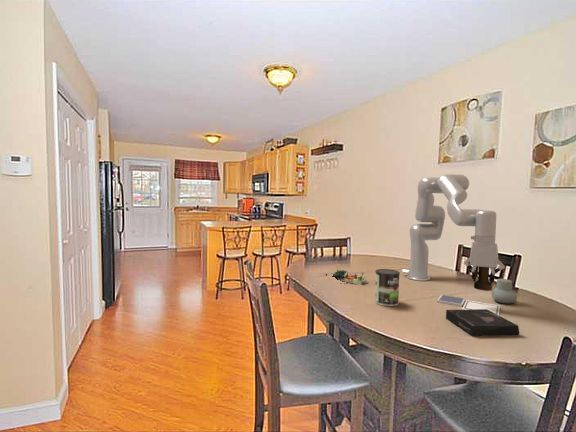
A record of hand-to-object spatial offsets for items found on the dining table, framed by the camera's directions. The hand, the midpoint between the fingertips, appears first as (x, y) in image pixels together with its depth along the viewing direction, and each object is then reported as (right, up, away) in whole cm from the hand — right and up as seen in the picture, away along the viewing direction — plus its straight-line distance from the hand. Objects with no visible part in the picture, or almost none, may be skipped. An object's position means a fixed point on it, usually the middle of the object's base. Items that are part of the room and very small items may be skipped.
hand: (482, 281), depth 144 cm
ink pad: (-9, -11, +9) cm, 17 cm away
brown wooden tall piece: (0, -3, 0) cm, 3 cm away
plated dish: (-48, -9, +47) cm, 68 cm away
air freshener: (+15, -11, +10) cm, 21 cm away
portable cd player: (-12, -13, -20) cm, 27 cm away
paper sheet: (0, -11, +1) cm, 11 cm away
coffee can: (-39, -11, +7) cm, 41 cm away
